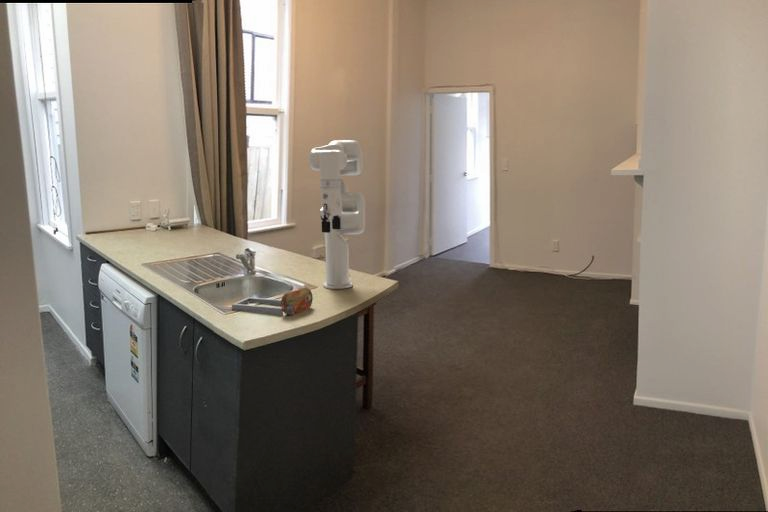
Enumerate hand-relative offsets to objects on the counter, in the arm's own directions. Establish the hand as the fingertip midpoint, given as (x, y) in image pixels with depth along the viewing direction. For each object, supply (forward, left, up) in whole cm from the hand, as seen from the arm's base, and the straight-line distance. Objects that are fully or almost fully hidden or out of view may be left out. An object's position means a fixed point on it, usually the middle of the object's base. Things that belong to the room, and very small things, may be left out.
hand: (331, 230), depth 218 cm
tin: (+14, -8, -29) cm, 33 cm away
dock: (+14, -21, -28) cm, 38 cm away
